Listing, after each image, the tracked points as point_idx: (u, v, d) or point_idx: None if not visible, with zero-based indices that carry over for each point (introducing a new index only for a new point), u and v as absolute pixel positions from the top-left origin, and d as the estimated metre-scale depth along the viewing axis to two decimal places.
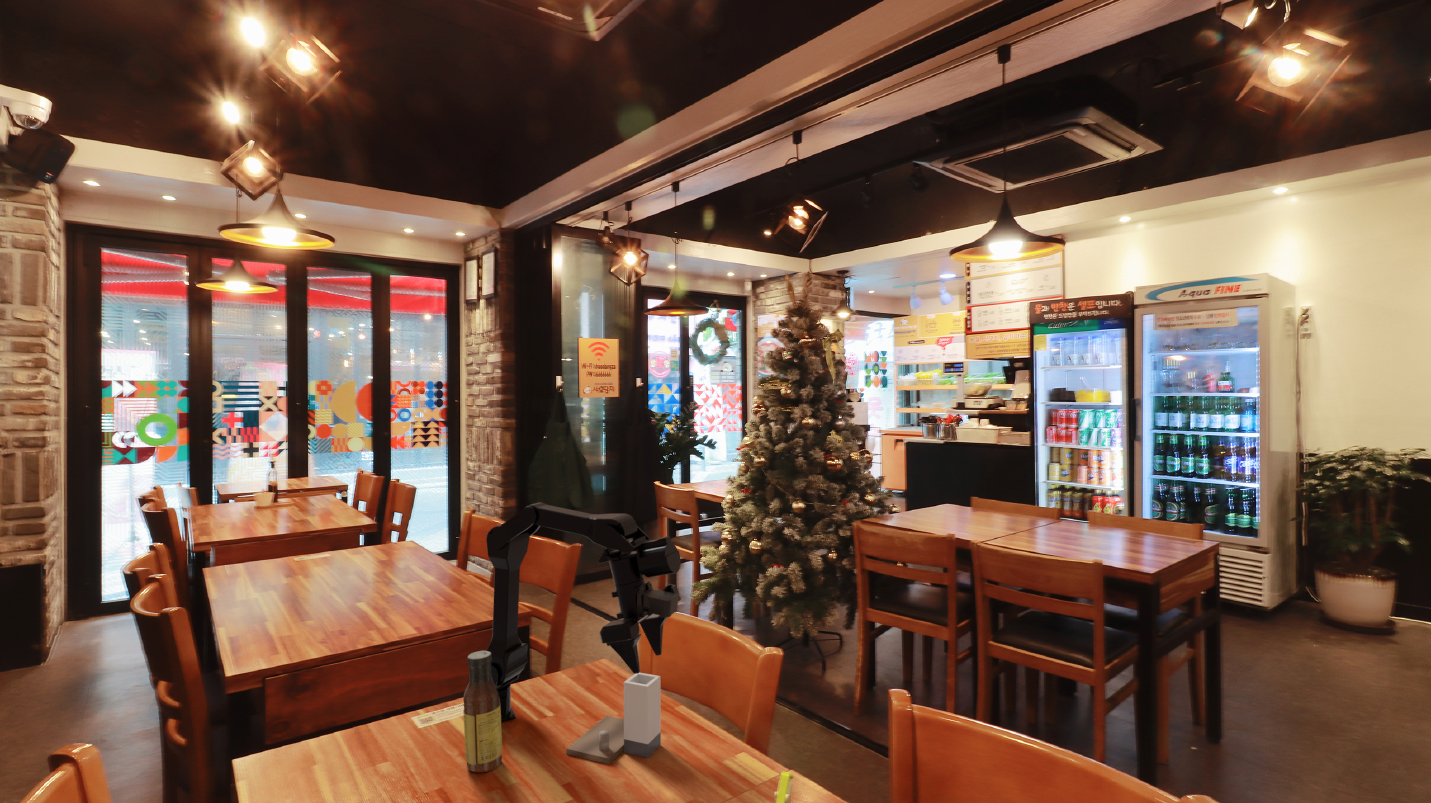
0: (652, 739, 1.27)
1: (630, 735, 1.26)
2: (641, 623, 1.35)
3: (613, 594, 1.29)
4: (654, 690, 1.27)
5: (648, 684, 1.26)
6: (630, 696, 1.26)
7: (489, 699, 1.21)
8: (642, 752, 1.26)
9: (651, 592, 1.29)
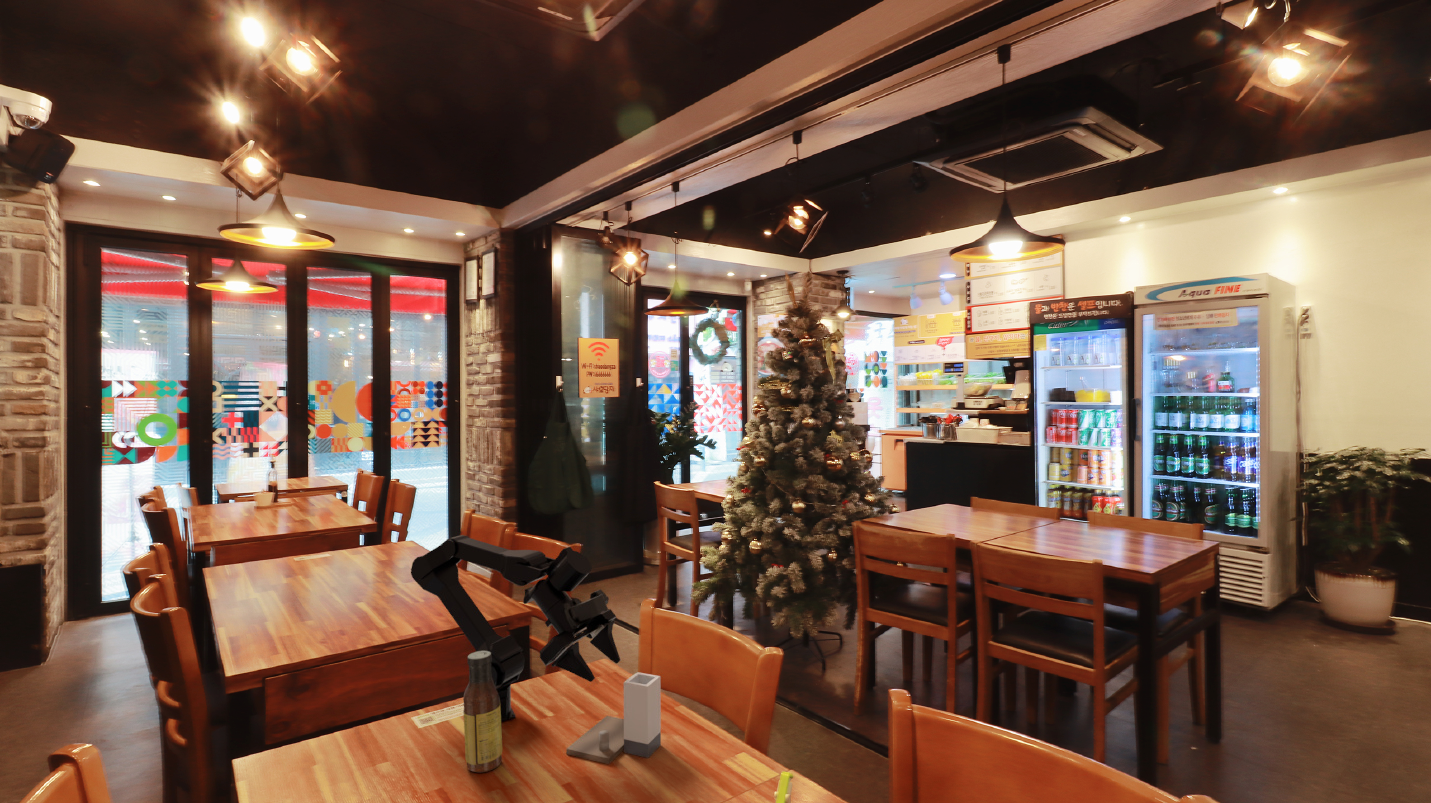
0: (652, 739, 1.27)
1: (630, 735, 1.26)
2: (592, 642, 1.38)
3: (546, 624, 1.34)
4: (654, 690, 1.27)
5: (648, 684, 1.26)
6: (630, 696, 1.26)
7: (489, 699, 1.21)
8: (642, 752, 1.26)
9: (579, 604, 1.34)
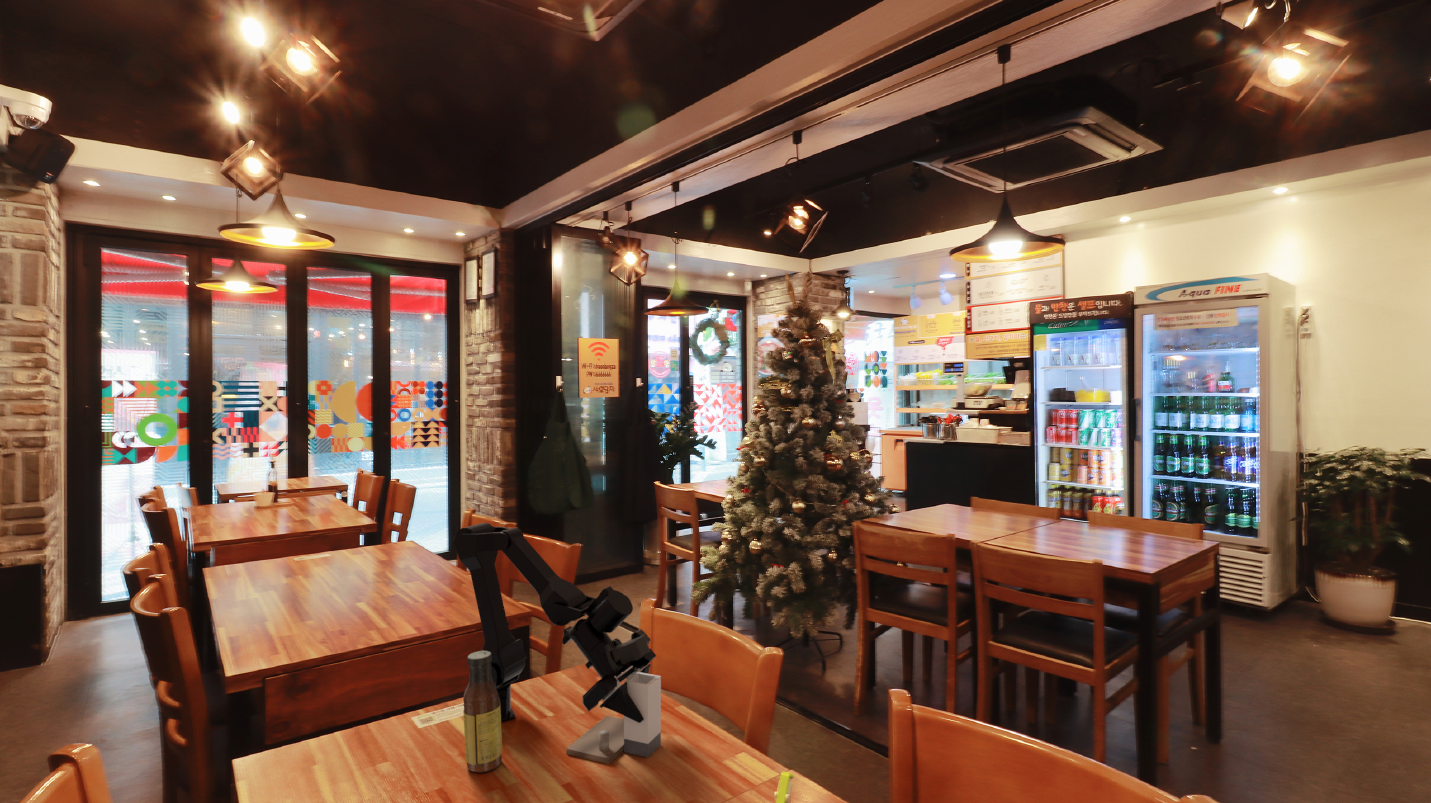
0: (652, 739, 1.27)
1: (630, 735, 1.27)
2: None
3: (587, 666, 1.30)
4: (654, 690, 1.28)
5: (649, 683, 1.26)
6: (630, 695, 1.26)
7: (489, 699, 1.21)
8: (642, 751, 1.26)
9: (620, 645, 1.30)
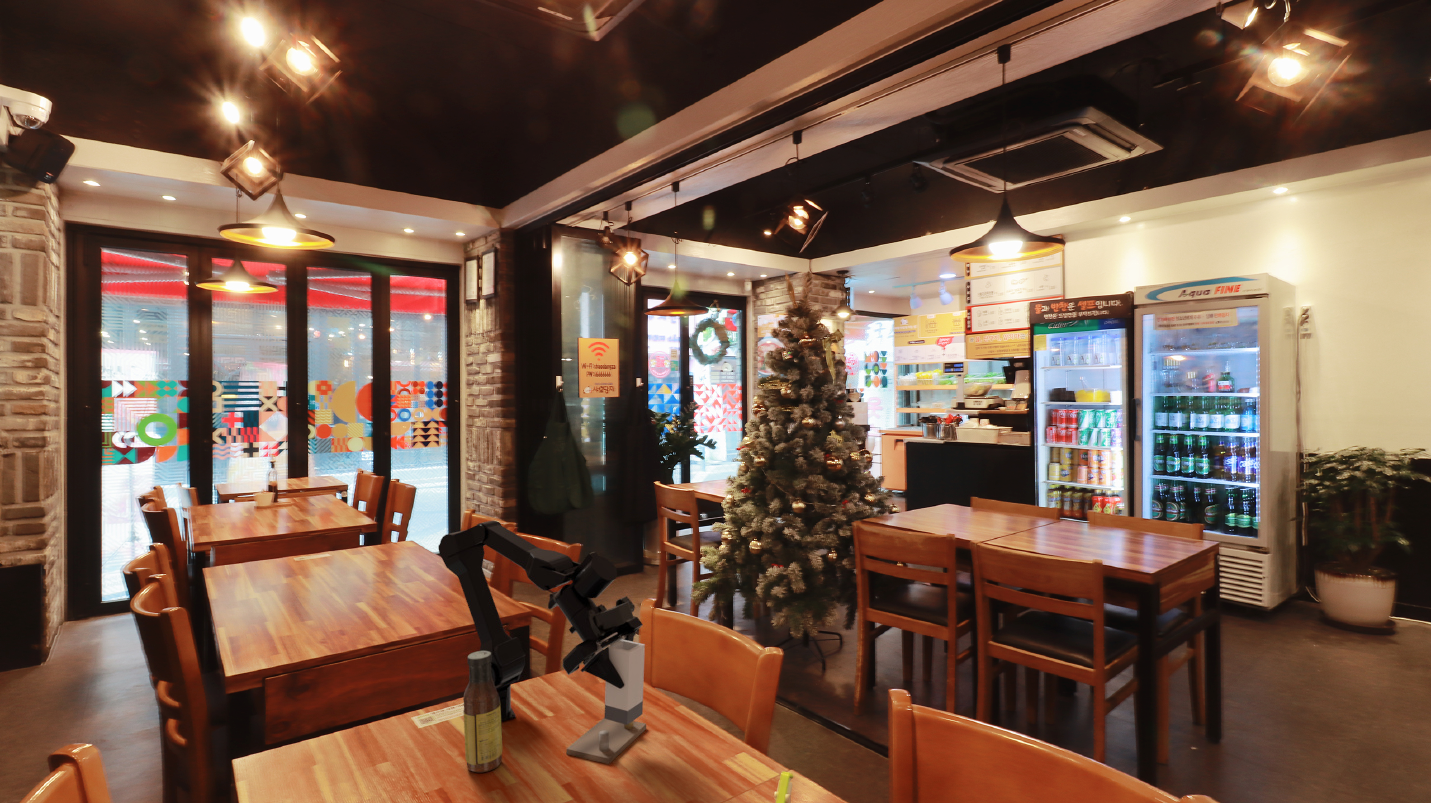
0: (633, 707, 1.25)
1: (611, 701, 1.25)
2: None
3: (570, 631, 1.30)
4: (637, 657, 1.26)
5: (630, 650, 1.25)
6: (612, 661, 1.26)
7: (489, 699, 1.21)
8: (622, 719, 1.24)
9: (604, 611, 1.30)
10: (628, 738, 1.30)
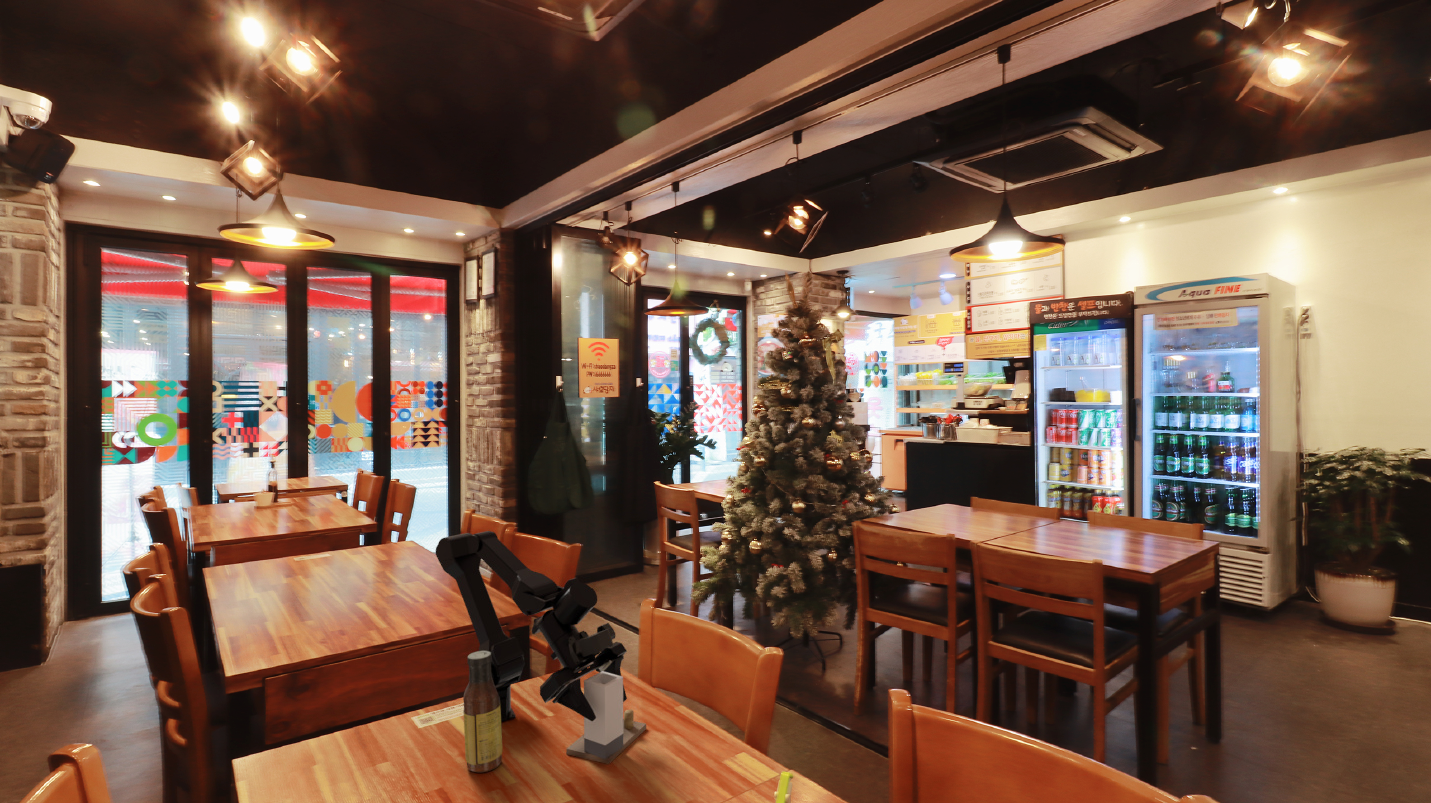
0: (611, 740, 1.24)
1: (589, 734, 1.25)
2: None
3: (552, 657, 1.29)
4: (614, 690, 1.25)
5: (606, 684, 1.24)
6: (589, 695, 1.25)
7: (489, 699, 1.21)
8: (600, 753, 1.23)
9: (584, 638, 1.29)
10: (628, 738, 1.30)
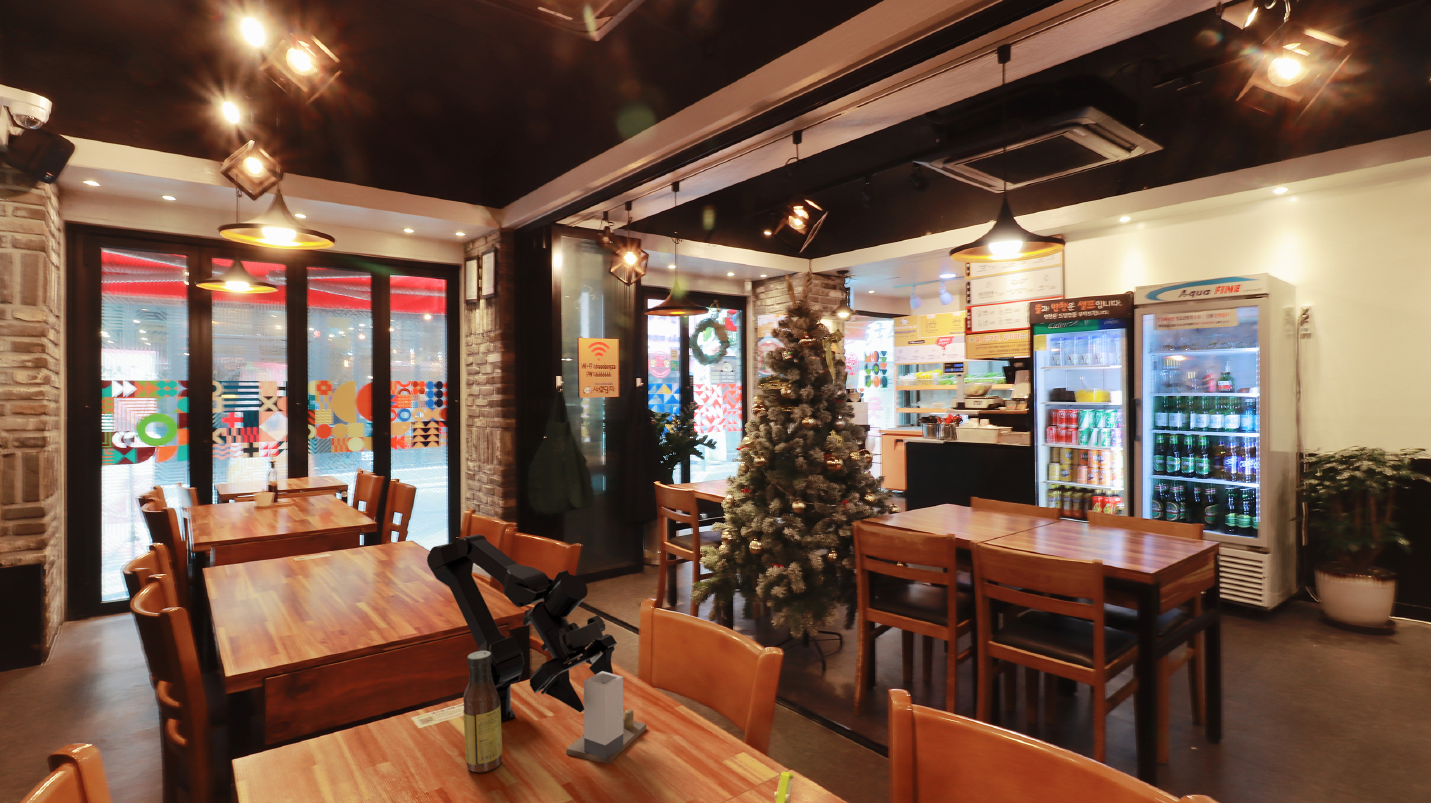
0: (611, 740, 1.24)
1: (589, 734, 1.25)
2: (591, 669, 1.34)
3: (542, 648, 1.31)
4: (614, 690, 1.25)
5: (606, 684, 1.24)
6: (589, 695, 1.25)
7: (489, 699, 1.21)
8: (600, 753, 1.23)
9: (575, 629, 1.30)
10: (628, 738, 1.30)
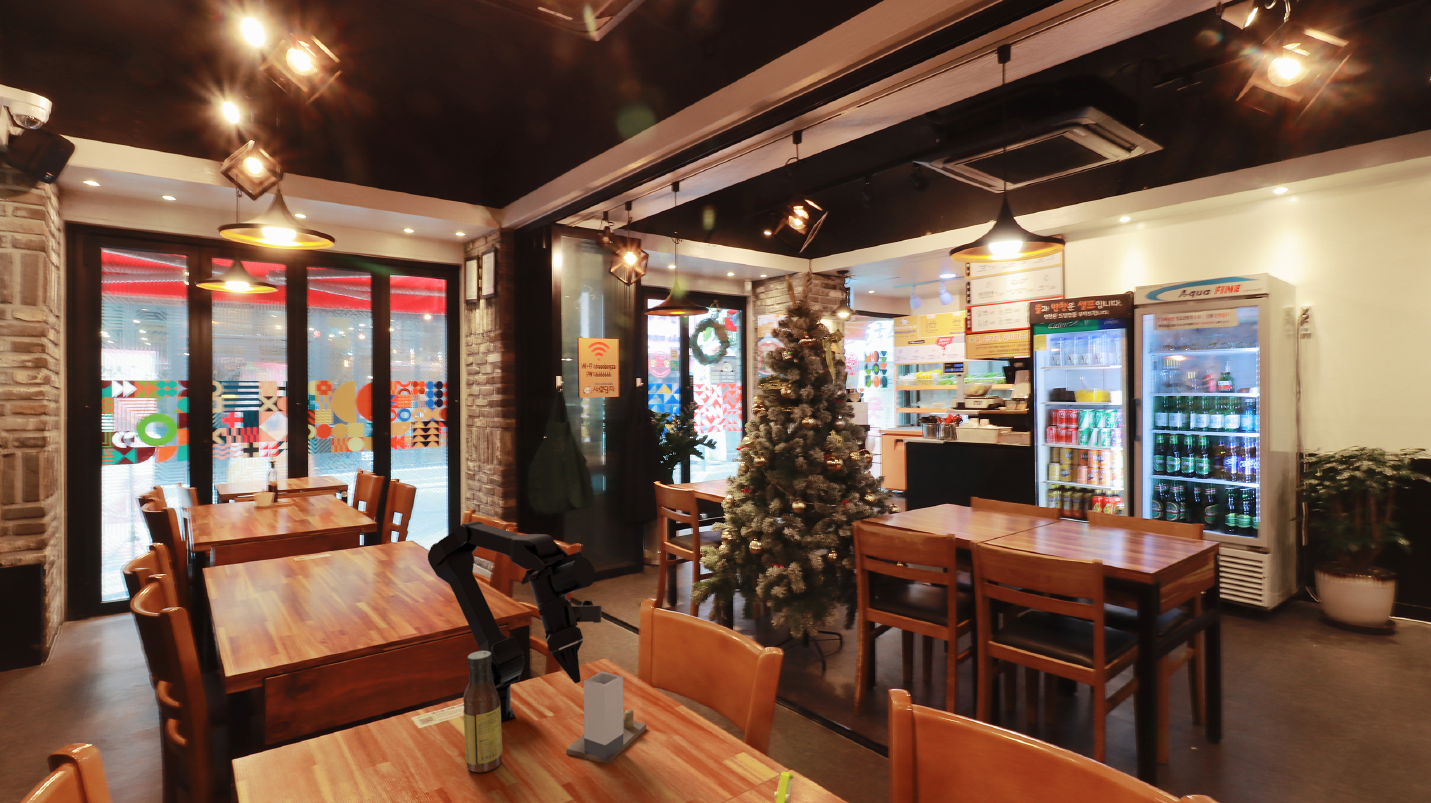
0: (611, 740, 1.24)
1: (589, 734, 1.25)
2: None
3: (540, 612, 1.31)
4: (614, 690, 1.25)
5: (606, 684, 1.24)
6: (589, 695, 1.25)
7: (489, 699, 1.21)
8: (600, 753, 1.23)
9: None
10: (628, 738, 1.30)
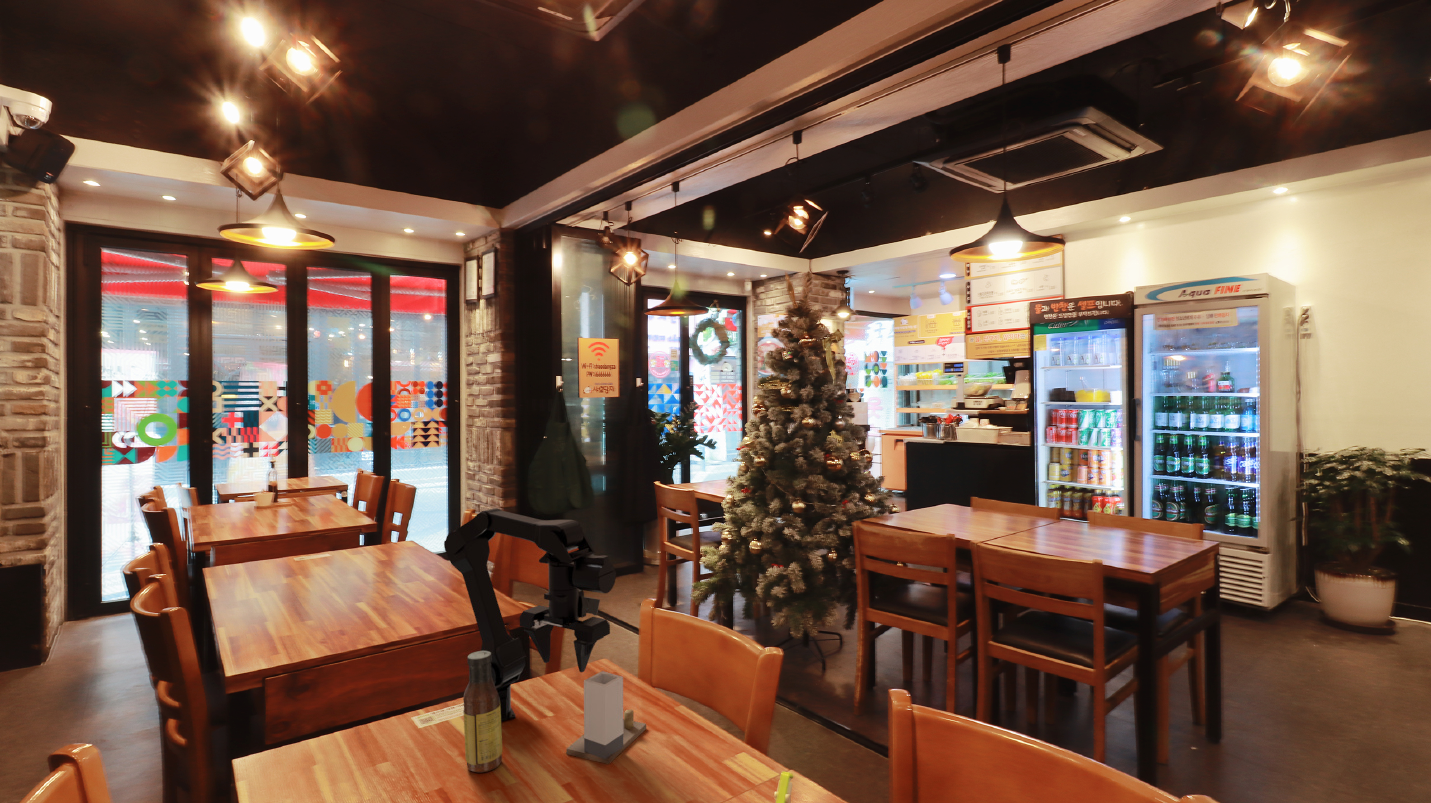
0: (611, 740, 1.24)
1: (589, 734, 1.25)
2: (535, 633, 1.34)
3: (563, 599, 1.30)
4: (614, 690, 1.25)
5: (606, 684, 1.24)
6: (589, 695, 1.25)
7: (489, 699, 1.21)
8: (600, 753, 1.23)
9: None
10: (628, 738, 1.30)
